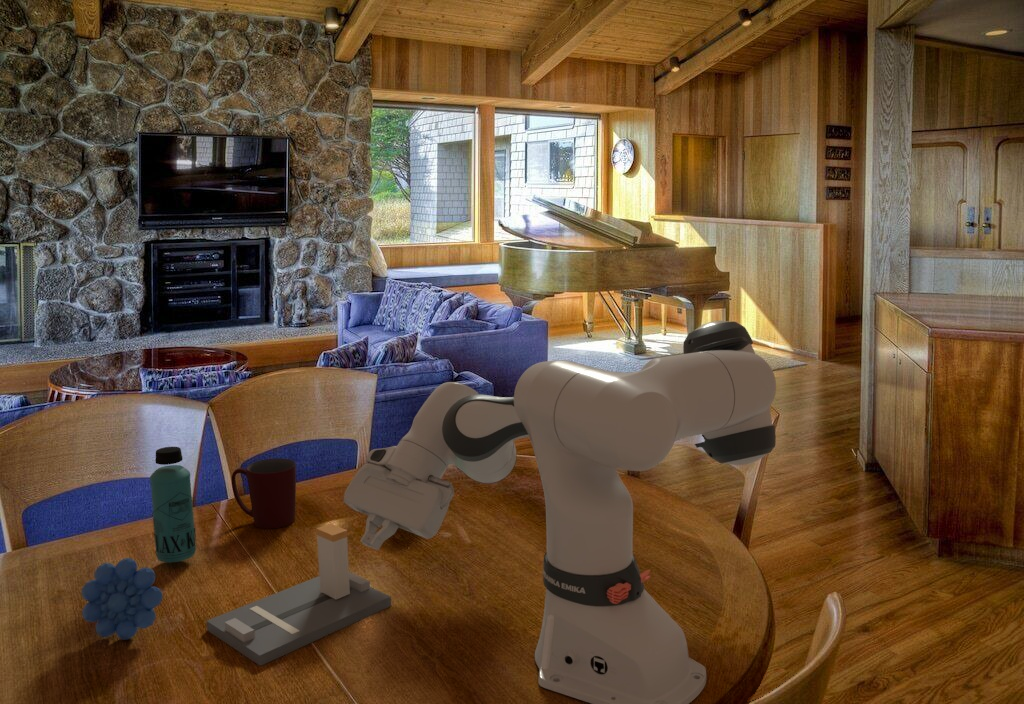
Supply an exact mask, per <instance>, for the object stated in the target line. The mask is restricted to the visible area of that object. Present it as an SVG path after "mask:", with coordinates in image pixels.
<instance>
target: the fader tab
mask: <svg viewBox="0 0 1024 704" xmlns="http://www.w3.org/2000/svg"><path fill="white" fill-rule="evenodd" d="M315 531H316V536H317V537H316V539H317V540H316V541H317V559H318V576H319V577H320V592H322V593H324V594H326V595H328V596H330V597H332V598H334V599H336V600H337V599H339V598H341V597H344V596H346V595H348V594H350V585H349V572H350V571H349V567H350V566H349V550H348V549H349V548H348V530H347V529H345V528H342V527H340V526H338V525H335V524H334V523H328V524H325V525H322V526H320V527H316V529H315Z"/></svg>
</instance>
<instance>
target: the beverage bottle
mask: <svg viewBox="0 0 1024 704" xmlns="http://www.w3.org/2000/svg"><path fill="white" fill-rule="evenodd" d="M183 460H184V459H183V454H182V450H181V447H179V446H165V447H161V448H158V449H156V451H155V459H154V461H155V464H157V465H159V466H160V465H161V467H158V468H156V469H155V471H153V473H151V475H150V476H149V482H150V488H151V489H150V490H151V491H150V492H151V503H152V504H151V505H152V513H151V515H152V525H153V526H152V527H153V532H152V533H153V538H154V539H153V540H154V546H155V547H154V548H155V557H156V558H157V560H158V561H160V562H162V563H177V562H183V561H185V560H187V559H190V558H192V557H193V556H194V555H195V554H196V550H197V545H196V540H197V536H196V527H195V522H196V521H195V520H194V516H195V515H194V514H195V513H194V506H193V504H194V503H193V497H192V488H191V487H192V486H191V472H190V470H188V469H187V468H186V467H184V466H182V465H180V464H178V463H180V462H182V461H183ZM163 465H164V466H163Z"/></svg>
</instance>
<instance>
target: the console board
mask: <svg viewBox="0 0 1024 704" xmlns="http://www.w3.org/2000/svg"><path fill="white" fill-rule="evenodd" d="M349 585H350V594H348V595H346V596H344V597H341V598H339V599H337V600H336V599H334V598H332V597H330V596H328V595H326V594H324V593H322V592H320V577H319V575H318V576H315V577H313V578H311V579H308V580H305V581H302V582H300V583H298V584H295V585H293V586H289V587H288V588H285V589H283V590H280V591H278V592H275V593H273V594H271V595H268V596H266V597H263V598H260V599H257V600H255V601H252V602H250V603H248V604H245V605H243V606H240V607H237V608H234V609H233V610H230V611H227V612H225V613H222V614H219V615H217V616H214V617H212V618H209V619H207V620H206V629H207V630H206V631H208V632H209V633H210V634H212V635H213V636H215V637H216V638H218V639H220V640H221V641H223V643H225V644H227V645H228V646H230V647H231V648H233V649H234V650H236V651H237V652H239V653H240V654H242V655H243V656H245V657H246V658H248V659H249V660H250V661H252V662H254V663H256V665H258V666H260V667H261V666H263V665H266V664H269V663H270V662H272V661H275V660H277V659H279V658H281V657H283V656H285V655H288V654H290V653H292V652H295V651H297V650H299V649H301V648H303V647H305V646H308V645H310V644H312V643H313V642H316V641H318V640H321V639H322V638H325V637H326V636H328V634H329V635H331V634H333V633H336V632H338V631H340V630H342V629H344V628H347V627H349V626H350V625H353V624H355V623H357V622H359V621H362V620H363V619H366V618H368V617H370V616H373V615H375V614H377V613H379V612H381V611H383V610H385V609H387V608H390V607H392V596H390V595H389V594H387V593H384V592H382V591H380V590H378V589H376V588H374V587H371V583H370V580H368V579H366V578H364V577H362V576H359V575H358V574H356V573H353V572H351V571H349ZM337 630H338V631H337ZM335 631H336V632H335ZM324 636H325V637H324Z"/></svg>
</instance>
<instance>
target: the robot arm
mask: <svg viewBox="0 0 1024 704" xmlns="http://www.w3.org/2000/svg"><path fill="white" fill-rule="evenodd" d="M753 344H754V341H753V339H752V337H751V336H750V333H749V332H748V330H747V328H746V327H745V326H744V325H742V324H740V323H739V322H737V321H728V320H716V321H715V320H714V321H709V322H707V323H704V324H702V325H700V326H698V327H697V328H696V329H694V330H693V331H691V332H689V333H688V334H687V336H686V338H685V339H684V341H683V347H682V348H683V352H682V354H676V355H675V354H674V355H669V356H668V355H667V356H661V357H660V356H659V357H655V358H652V359H650V360H649V361H647V362H646V363H645V364H644V365H643V366H642V367H641V369H640V370H638V371H632V372H621V371H614V370H605V369H602V368H597V367H593V366H589V365H587V364H582V363H578V362H576V361H572V360H564V359H562V360H549V361H548V360H547V361H541V362H537V363H534V364H533V365H530V366H529V367H528V368H527V369H526V370H524V372H523V373H522V374H521V376H520V377H519V378H518V381H517V383H516V385H515V388H514V394H513V396H512V397H511V396H510V397H506V396H505V397H502V396H494V395H488V394H480V393H479V392H478V391H477V390H475V389H474V388H472V387H471V386H469V385H467V384H464V383H461V382H456V381H447V382H444V383H442V384H439V386H437V387H436V388H435V389H434V390H433V391H432V392H431V393H430V395H429V396H428V397H427V398H426V400H425V401H424V402H423V404H422V405H421V407H420V408H419V410H418V411H417V413H416V414H415V416H414V418H413V421H412V424H411V427H410V429H409V431H408V432H407V433H406V434H405V435H404V436H403V437H402V438H401V439H400V440H399V442H398V444H397V445H393V446H389V447H383V448H374V449H372V450H370V451H369V452H368V454H367V455H366V458H365V459H366V461H367V462H368V463H365V464H363V465H362V466H360V467H359V469H358V471H357V472H355V473H356V474H354V476H353V478H352V479H351V481H350V483H349V485H348V486H347V488H346V489H345V491H344V493H343V503H344V504H346V505H347V506H348V507H349V508H351V509H352V510H354V511H356V512H358V513H361V514H363V515H366V516H367V518H366V521H365V522H366V523H365V529H364V530H365V532H364V533H363V535H362V537H360V543H362V544H363V545H365V546H367V548H368V547H369V548H370V549H373V550H376V551H379V550H380V549H381V546H382V545H383V544H384V542H385V541H387V540H388V539H389V538H391V537H393V535H395V534H396V533H397V531H398V529H402V530H403V531H406V532H409V533H412V534H413V535H417V536H419V537H421V538H424V539H426V540H430V539H432V538H433V537H435V536H436V535H437V533H438V531H439V530H440V528H441V527H442V524H443V521H444V519H445V517H446V515H447V512H448V509H449V507H450V502H451V501H452V499H453V497H454V496H455V489H454V486H453V483H452V482H451V481H450V480H446V479H442V478H443V476H444V474H445V472H446V471H447V469H448V468H449V466H451V465H453V466H455V467H456V468H457V469H459V471H461V472H462V473H463V474H464V475H466V476H467V477H469V478H470V479H471V480H474V481H476V482H477V483H479V484H484V485H487V484H489V485H491V484H496V483H498V482H501V481H503V480H504V479H506V478H507V477H508V476H509V475H510V474H511V473H512V472H513V470H514V468H515V466H516V464H517V457H518V455H517V448H516V444H515V441H516V440H519V439H524V438H529V440H530V442H531V443H530V444H531V446H532V449H533V453H534V457H535V460H536V463H537V464H536V465H537V469H538V471H539V477H540V480H541V485H542V489H543V493H544V504H545V521H546V522H545V523H546V524H545V526H546V552H545V553H544V554H543V563H542V564H543V567H542V576H543V577H542V581H543V585H544V587H545V599H544V609H543V617H542V623H541V630H540V634H539V638H538V643H537V645H536V648H535V650H534V660H535V664H536V665H537V668H538V670H539V671H538V678H537V679H538V680H537V681H538V685H539V687H542V688H544V689H546V690H550V691H552V692H555V693H558V694H562V695H564V696H568V697H570V698H575V699H577V700H579V701H583V702H586V703H589V704H690V703H692V701H694V700H695V699H696V698H697V697H698V696H699V695H700V694H701V692H702V691H703V690H704V688H705V687H706V683H707V679H708V678H707V669H706V666H704V665H703V664H701V663H700V662H699V661H696V660H694V659H693V658H691V657H689V656H690V655H689V649H688V642H687V638H686V635H685V631H684V630H683V628H682V627H681V626H680V625H679V624H678V623H677V622H676V621H675V619H673V618H672V617H671V616H670V615H669V613H668V612H667V611H666V610H665V609H663V607H662V606H660V604H659V603H658V602H657V601H656V600H655V599H654V598H653V596H652V595H650V594H649V592H648V591H647V590H646V589H645V584H644V582H646V581H647V580H649V579H650V578H651V575H649V574H650V573H651V571H652V570H651V569H650V568H648V569H646V570H645V571H643V572H642V573H641V571H640V569H639V568H640V567H639V565H638V562H637V559H636V558H635V555H634V554H633V551H634V550H633V539H634V537H633V536H634V535H633V534H634V528H633V527H634V503H633V500H632V497H631V494H630V492H629V490H628V488H627V487H626V485H625V483H623V480H622V479H621V477H620V475H619V473H618V471H617V469H618V470H625V471H634V472H643V471H649V470H651V469H653V468H655V467H657V466H659V464H661V463H662V462H663V461H664V460H665V459H666V458H667V457H668V455H669V453H671V450H672V449H673V447H674V444H675V442H677V441H680V440H682V439H685V438H689V437H694V436H699V435H701V437H702V438H703V440H704V441H703V442H699V443H698V442H697V443H694V446H695V448H696V449H697V448H702V449H703V450H704V452H705V453H706V454H707V455H708V457H709V458H710V459H712V460H714V461H716V462H718V463H719V464H726V465H732V466H746V465H751V464H753V463H756V462H758V461H759V460H761V459H762V458H764V457H765V456H767V454H770V453H771V452H772V451H773V450H774V448H775V447H776V442H777V441H776V439H777V438H776V435H777V434H776V426H775V425H774V424H773V421H772V414H771V413H772V412H771V405H772V404H773V402H774V400H775V396H776V394H777V393H776V391H777V383H776V382H777V380H776V376H775V373H774V371H773V368H772V367H771V365H770V364H769V363H768V362H767V360H766V359H764V358H763V357H762V356H760V355H758V354H756V351H755V350H754V347H753ZM378 528H380V529H379V530H378Z"/></svg>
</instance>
